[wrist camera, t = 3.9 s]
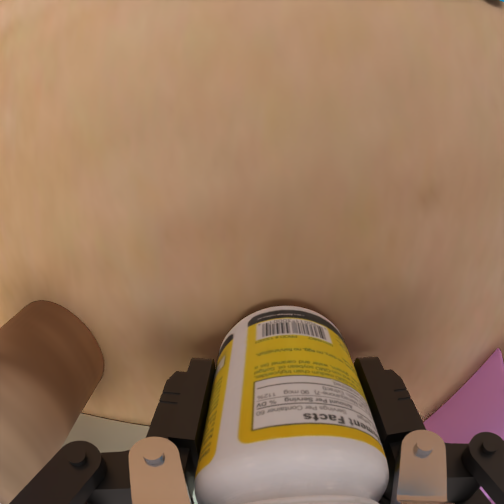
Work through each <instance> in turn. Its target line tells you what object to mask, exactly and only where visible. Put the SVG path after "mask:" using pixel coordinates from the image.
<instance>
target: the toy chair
mask: <svg viewBox="0 0 504 504" xmlns="http://www.w3.org/2000/svg"><path fill="white" fill-rule="evenodd" d="M423 424H424V426H425V428H426V430H428V431H432V432H434V433H436V434H438V435H439V436H440V437H441V438H442V439H443V441H444V442H445V443H462V444H469V442H470V441H471V439H472V438H473V437H474V436H475V435H476V434H478V433H481V432H491V433H494V434H497V435H498V436H499V437H501V438H502V439H503V440H504V363H503V358H502V353H501V350H500V349H499V348H497V349H496V350H495V351H494V353H493V354H492V355H491V356H490V357H489V358H488V360H487V361H486V362H485V363H484V364H483V365H482V366H481V367H480V368H479V369H478V371H477V372H476V373H475V374H474V375H473V376H472V377H471V378H470V379H469V380H468V381H467V382H466V383H465V384H464V385H463V386H462V387H461V388H460V389H459V390H458V391H457V392H456V393H455V394H454V395H453V396H452V397H451V398H450V399H449V400H448V401H447V402H446V403H445V404H444V405H442V406H441V407H440V408H439V409H438V410H437V411H436V412H435V413H434V414H433V415H431V416H430V417H429V418H428V419H427V420H426V421H424V422H423ZM480 490H481V491H482V492H483V493H484V494H485V496H486V497H487V498H488V499H489V501H490V502H491V503H492V504H495V503H494V501H493V500H492V499H491V498H490V497H489V495H488V494H487V493H486V492H485V490H484V489H483V488H482V487H480Z"/></svg>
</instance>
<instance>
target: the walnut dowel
mask: <svg viewBox="0 0 504 504" xmlns="http://www.w3.org/2000/svg"><path fill="white" fill-rule="evenodd" d="M103 372H104V360H103V356H102V353H101V350H100V347H99V345H98V343H97V341H96V340H95V338H94V336H93V335H92V333H91V332H90V331H89V329H88V328H87V327H86V326H85V325H84V324H83V323H82V322H81V320H80V319H78V318H77V317H76V316H75V315H74V314H73V313H71V312H70V311H68V310H67V309H65V308H64V307H62V306H60V305H58V304H55V303H52V302H49V301H34V302H32V303H30V304H28V305H27V306H26V307H24V308H23V309H22V310H21V311H20V312H19V313H17V314H16V315H15V316H14V317H13V318H11V319H10V320H9V321H8V322H7V323H6V324H5V325H3V326H2V327H1V328H0V503H1V504H9V503H10V502H11V501H12V500H13V499H14V498H15V497H16V496H17V495H18V493H19V492H20V491H21V490H22V489H23V488H24V487H25V486H26V485H27V484H28V483H29V482H30V481H31V480H32V479H33V478H34V477H35V475H36V474H37V473H38V472H39V471H40V470H41V469H42V468H43V467H44V466H45V465H46V464H47V463H48V462H49V461H50V460H51V459H52V457H53V456H54V455H55V454H56V453H57V452H58V451H59V450H60V449H61V447H62V445H63V444H64V442H65V440H66V438H67V436H68V435H69V433H70V431H71V429H72V427H73V426H74V424H75V422H76V420H77V419H78V417H79V415H80V413H81V412H82V410H83V408H84V406H85V405H86V403H87V401H88V400H89V398H90V396H91V395H92V393H93V391H94V389H95V388H96V386H97V384H98V383H99V381H100V379H101V377H102V375H103Z"/></svg>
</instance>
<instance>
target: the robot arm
mask: <svg viewBox="0 0 504 504" xmlns="http://www.w3.org/2000/svg"><path fill="white" fill-rule="evenodd" d="M354 367H355V370H356V373H357V376H358V378H359V381H360V384H361V386H362V389H363V392H364V395H365V397H366V400H367V403H368V406H369V409H370V412H371V415H372V418H373V420H374V423H375V426H376V429H377V432H378V435H379V438H380V441H381V444H382V447H383V450H384V453H385V456H386V459H387V464H388V469H389V481H388V485H387V488H386V490H385V492H384V494H383V496H382V498H381V499H380V500H379V502H378V503H379V504H492V503H491V502H490V501H489V499H488V498H487V497H486V496H485V494H484V493H483V492H482V491H481V490H480V487H482V488H483V489H484V490H485V492H486V493H487V494H488V495H489V497H490V498H491V499H492V500H493V501H494V503H495V504H504V440H503V439H502V438H501V437H499V436H498V435H497V434H494V433H491V432H481V433H478V434H476V435H475V436H474V437H473V438H472V439H471V441H470V442H469V444H462V443H445V442H444V441H443V439H442V438H441V437H440V436H439V435H438V434H436V433H434V432H432V431H428V430H426V428H425V426H424V424H423V422H422V420H421V417H420V415H419V413H418V411H417V409H416V407H415V405H414V403H413V401H412V399H410V395H409V393H408V391H406V387H405V385H404V383H403V381H402V379H401V377H399V376H398V375H397V374H396V373H395V372H394V371H393V370H384V368H383V366H382V364H381V362H380V360H379V358H378V357H365V358H356V360H355V362H354ZM214 375H215V362H214V359H202V358H192V359H191V361H190V365H189V368H188V371H187V372H179V371H176V372H175V373H174V374H173V375H172V376H171V377H170V378H169V379H168V380H167V382H166V384H165V387H164V390H163V394H162V395H161V398H160V400H159V401H160V402H159V403H158V406H157V408H156V411H155V414H154V417H153V419H152V422H151V425H150V428H149V430H148V433H147V436H146V438H144V439H141V440H139V441H138V442H136V443H135V444H134V445H133V446H132V447H131V449H130V450H127V451H121V452H102V453H100V451H99V450H98V448H97V447H96V446H95V445H93V444H92V443H90V442H87V441H73V442H70V443H68V444H66V445H64V446H63V447H62V448H61V449H60V450H59V451H58V452H57V453H56V454H55V455H54V456H53V457H52V459H51V460H50V461H49V462H48V463H47V464H46V465H45V466H44V467H43V468H42V469H41V470H40V471H39V472H38V473H37V474H36V475H35V477H34V478H33V479H32V480H31V481H30V482H29V483H28V484H27V485H26V486H25V487H24V488H23V489H22V490H21V491H20V492H19V493H18V495H17V496H16V497H15V498H14V499H13V500H12V501H11V502H10V503H9V504H195V502H194V498H193V491H194V481H195V474H196V469H197V465H198V460H199V455H200V450H201V445H202V440H203V434H204V429H205V423H206V418H207V413H208V408H209V402H210V396H211V391H212V386H213V380H214Z"/></svg>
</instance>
